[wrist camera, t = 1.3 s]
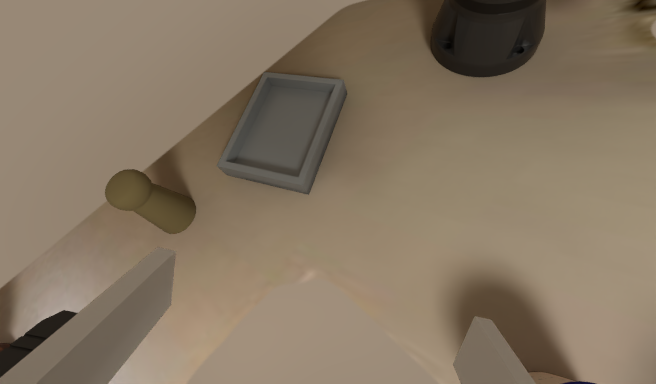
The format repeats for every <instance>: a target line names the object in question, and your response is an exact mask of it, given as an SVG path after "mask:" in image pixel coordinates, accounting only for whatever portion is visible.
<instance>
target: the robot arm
mask: <svg viewBox="0 0 656 384" xmlns="http://www.w3.org/2000/svg"><path fill="white" fill-rule="evenodd" d="M545 12H546V0H445V1H444V3H443V5H442V7H441V9H440V11H439V13H438V15H437V17H436V19H435V22H434V24H433V28H432V36H431V49H432V52H433V54H434V56H435V58H436V59H437V60H438V62H439V63H440V64H442V65H443V66H444V67H446V68H447V69H449V70H451V71H453V72H456V73H458V74H462V75H466V76H472V77H490V76H497V75H501V74H505V73H508V72H511V71H513V70H515V69H517V68H519V67H520V66H522V65H523V64H525V63H526V62H527V61H528V60H529V59H530V58H531V57H532V56H533V55H534V53H535V51H536V50H537V47H538V45H539V43H540V41H541V39H542V37H543V33H544V29H545ZM175 255H176V251H174V250H169V249H164V248H160V247H157V248H156V249H155V250H154V251H152V252H151V253H150V254H149V255H148V256H146V257H145V258H144V259H143V260H141V261H140V262H139V263H138V264H137V265H135V266H134V267H133V268H132V269H131V270H129V271H128V272H127V273H126V274H125V275H123V276H122V277H121V278H120V279H119V280H117V281H116V282H115V283H114V284H113V285H111V286H110V287H109V288H108V289H107V290H105V291H104V292H103V293H102V294H101V295H99V296H98V297H97V298H96V299H95V300H93V301H92V302H91V303H90V304H88V305H87V306H86V307H85V308H84V309H82V310H81V311H80V312H79V313H75V312H70V311H65V310H64V311H61V312H59V313H57V314H55V315H53V316H51V317H49V318H46V319H44V320H42V321H41V322H40V323H38V324H37V325H36V326H34V327H33V328H32V329H30V330H29V331H28V332H26V333H25V335H24V336H23V337H22V336H21V337H20V338H18V339H17V340H16V341H14V342H13V343H12V344H10V346H9V347H8V348H5V349H4V350H2V351H1V352H0V384H108V383H109V381H110V380H111V379H112V378H113V376H114V375H115V374H116V373H117V372H118V370H119V369H120V368H121V367H122V365H123V364H124V363H125V362H126V360H127V359H128V358H129V357H130V355H131V354H132V353H133V352H134V350H135V349H136V348H137V347H138V345H139V344H140V343H141V342H142V340H143V339H144V338H145V337H146V335H147V334H148V333H149V332H150V330H151V329H152V328H153V327H154V325H155V324H156V323H157V322H158V320H159V319H160V318H161V317H162V316H163V314H164V313H165V312H166V311H167V309H168V308H169V307H170V306H171V299H172V288H173V277H174V266H175ZM453 366H454V368H455V370H456V373H457V375H458V377H459V380H460V382H461V384H536V383H535V382H534V380H533V379H532V377H531V376H530V374H529V373H528V372H527V370H526V369H525V367H524V366H523V364H522V363H521V361H520V360H519V359H518V357H517V356H516V354H515V353H514V351H513V350H512V349H511V347H510V346H509V344H508V343H507V341H506V340H505V338H504V337H503V336H502V334H501V333H500V331H499V330H498V328H497V327H496V326H495V324H494V323H493V321H492V320H491V319H486V318H481V317H477V316H474V319H473V321H472V323H471V325H470V328H469V330H468V332H467V334H466V336H465V339H464V341H463V343H462V345H461V347H460V350H459V352H458V354H457V356H456V358H455V361H454V363H453Z"/></svg>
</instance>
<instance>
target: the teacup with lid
mask: <svg viewBox="0 0 656 384" xmlns="http://www.w3.org/2000/svg"><path fill="white" fill-rule="evenodd" d="M529 374H530V376H531V377H532V379H533V380H534V382H535V383H536V384H595V383H590V382H580V381H578V382H577V381H573V380H570V379H567V378H563V377H560V376H557V375H553V374H549V373H544V372H530V373H529Z"/></svg>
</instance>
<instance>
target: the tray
mask: <svg viewBox="0 0 656 384" xmlns="http://www.w3.org/2000/svg"><path fill="white" fill-rule="evenodd" d="M346 95H347V91H346V87H345V83H344V80H339V79H330V78H320V77H310V76H300V75H290V74H280V73H270V72H264V73H263V75H262V77H261V79H260V81H259V83H258V85H257V87H256V89H255V91H254V93H253V95H252V97H251V99H250V101H249V103H248V105H247V107H246V109H245V111H244V113H243V115H242V117H241V119H240V121H239V123H238V125H237V127H236V129H235V131H234V133H233V135H232V137H231V139H230V141H229V143H228V145H227V147H226V149H225V150H224V152H223V154H222V156H221V158H220V160H219V162H218V164H217V167H219V168H220V169H221V170H222V171H223V172H224V173H225V174H227V175H229V176H233V177H237V178H241V179H246V180H250V181H254V182H258V183H262V184H267V185H271V186H275V187H279V188H283V189H287V190H292V191H296V192H300V193H304V194H308V195H309V192H310V190H311V187H312V185H313V182H314V179H315V177H316V174H317V171H318V169H319V166H320V164H321V161H322V158H323V156H324V153H325V150H326V148H327V145H328V142H329V140H330V137H331V135H332V132H333V129H334V127H335V124H336V121H337V119H338V116H339V113H340V111H341V108H342V106H343V103H344V100H345V98H346Z"/></svg>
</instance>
